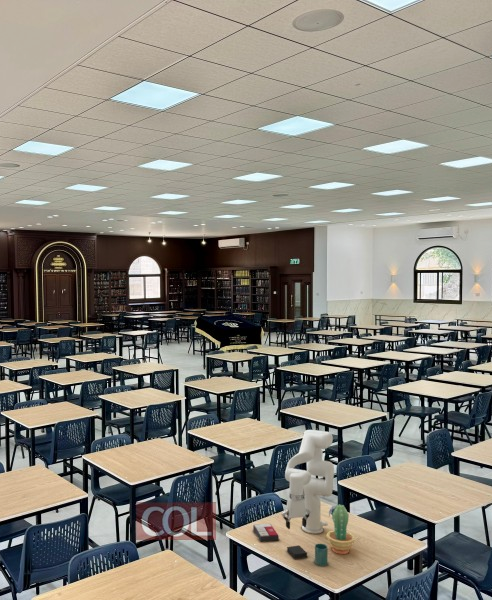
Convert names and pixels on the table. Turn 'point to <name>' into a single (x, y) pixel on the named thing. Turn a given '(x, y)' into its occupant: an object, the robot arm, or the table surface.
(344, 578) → the table surface
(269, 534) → the calculator
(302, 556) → the black box
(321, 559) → the cup
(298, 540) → the table surface
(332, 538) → the potted cactus
